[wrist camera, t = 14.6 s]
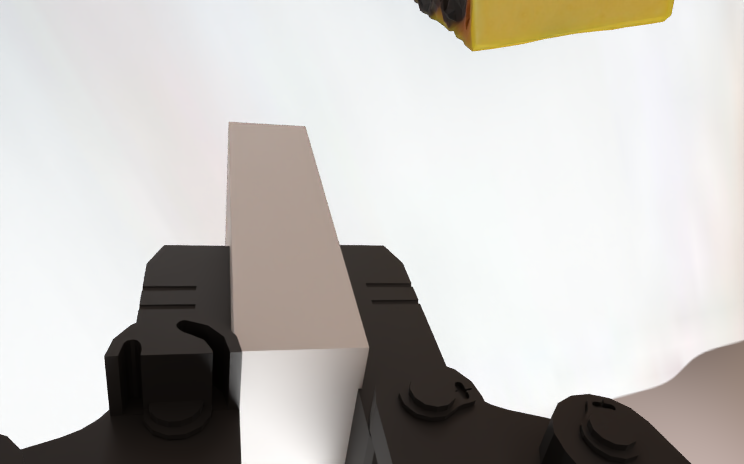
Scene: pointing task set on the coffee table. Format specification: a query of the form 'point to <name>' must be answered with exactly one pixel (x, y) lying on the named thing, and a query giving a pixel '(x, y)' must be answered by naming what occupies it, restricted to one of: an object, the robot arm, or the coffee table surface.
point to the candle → (538, 18)
